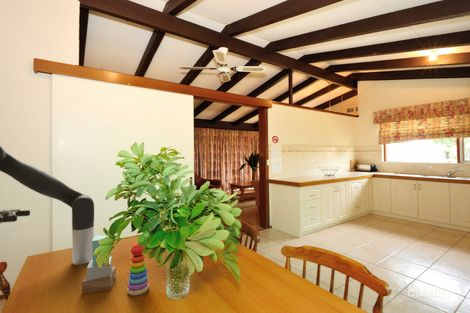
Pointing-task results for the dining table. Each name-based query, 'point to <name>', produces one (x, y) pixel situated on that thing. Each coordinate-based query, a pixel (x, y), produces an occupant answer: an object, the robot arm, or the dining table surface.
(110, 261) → the grey top block
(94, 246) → the teal pillar block
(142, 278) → the stacking toy
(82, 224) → the robot arm
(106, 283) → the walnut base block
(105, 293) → the dining table surface
